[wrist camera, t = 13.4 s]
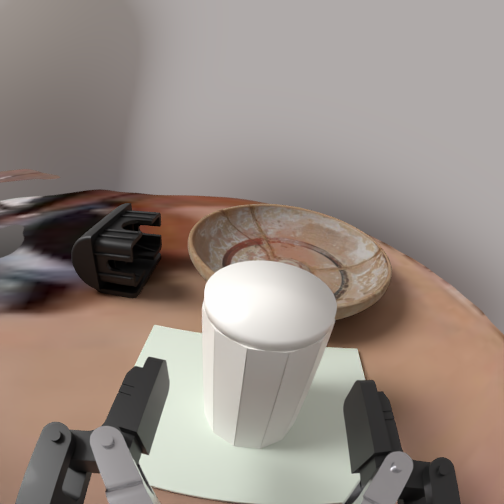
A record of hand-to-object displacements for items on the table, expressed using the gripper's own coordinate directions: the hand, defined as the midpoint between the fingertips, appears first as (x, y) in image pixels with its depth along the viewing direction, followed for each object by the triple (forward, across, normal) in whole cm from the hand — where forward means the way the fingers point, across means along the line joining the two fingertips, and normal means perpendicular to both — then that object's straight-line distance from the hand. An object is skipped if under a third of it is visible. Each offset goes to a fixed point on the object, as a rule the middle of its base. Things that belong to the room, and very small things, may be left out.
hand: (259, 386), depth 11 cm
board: (+3, 0, +8) cm, 9 cm away
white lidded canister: (+3, 0, +8) cm, 8 cm away
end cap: (+18, +16, +8) cm, 26 cm away
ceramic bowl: (+22, -3, +8) cm, 24 cm away
